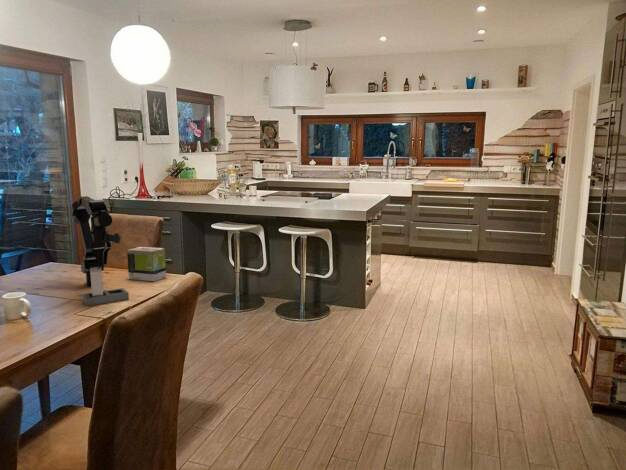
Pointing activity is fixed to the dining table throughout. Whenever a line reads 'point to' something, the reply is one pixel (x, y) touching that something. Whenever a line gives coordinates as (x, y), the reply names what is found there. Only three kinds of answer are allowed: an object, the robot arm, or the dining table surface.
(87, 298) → the grey compartment tray
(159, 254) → the tea box
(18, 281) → the dining table surface
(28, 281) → the dining table surface
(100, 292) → the grey tall block
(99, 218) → the robot arm
